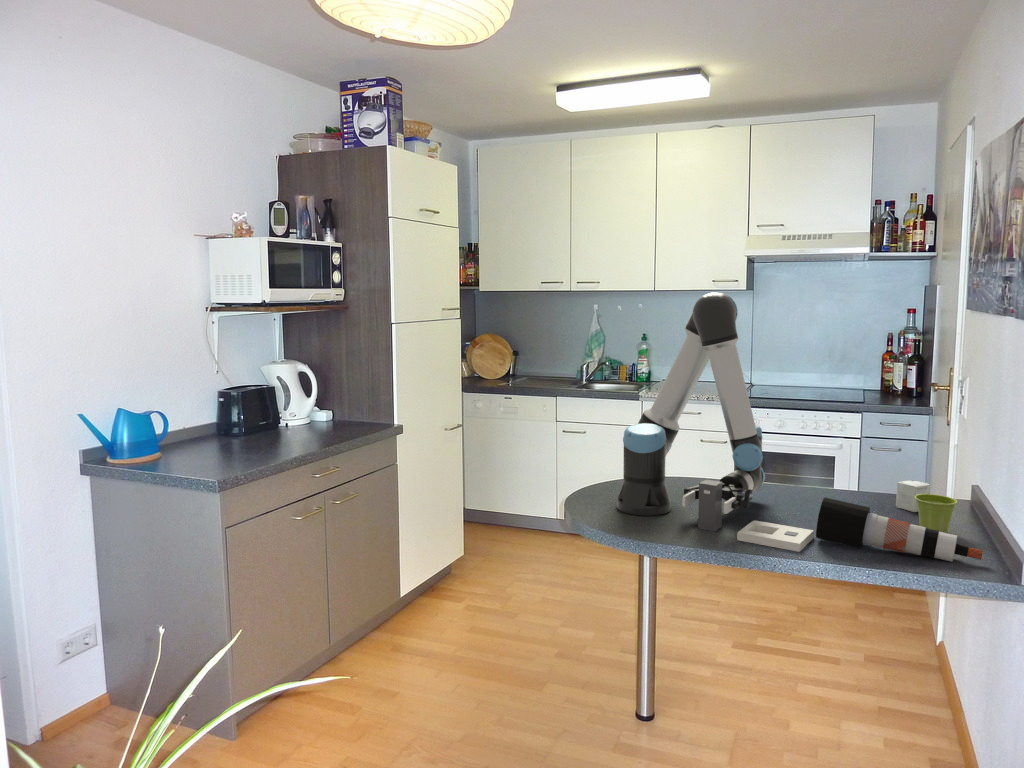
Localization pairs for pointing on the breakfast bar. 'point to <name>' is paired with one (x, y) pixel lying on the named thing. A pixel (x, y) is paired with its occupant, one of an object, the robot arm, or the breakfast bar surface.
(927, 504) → the plant pot
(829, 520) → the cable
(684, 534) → the breakfast bar surface
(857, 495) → the breakfast bar surface
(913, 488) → the skincare box
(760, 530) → the white base plate
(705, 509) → the block
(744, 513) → the breakfast bar surface
